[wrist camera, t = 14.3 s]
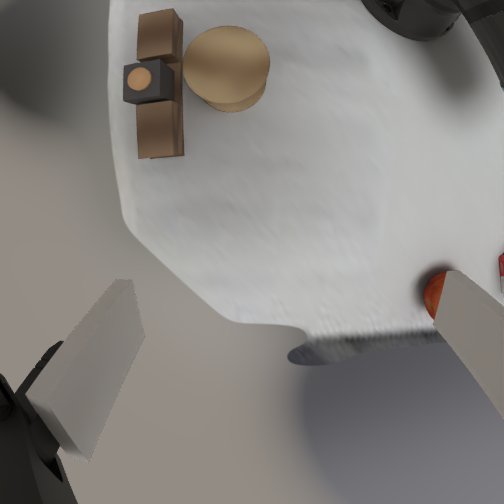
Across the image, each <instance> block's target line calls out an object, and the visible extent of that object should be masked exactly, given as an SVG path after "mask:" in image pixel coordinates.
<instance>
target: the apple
mask: <svg viewBox="0 0 504 504" xmlns="http://www.w3.org/2000/svg"><path fill="white" fill-rule="evenodd" d="M446 273H447V272H444V273H441V274H438V275H437V276H435V277H433V278H432V279H431V280H430V281H429V282H428V284H427V286H426V288H425V291H424V300H425V305H426V308H427V311H428V313H429V315H430V316H431V318H433V319H435V316H436V312H437V309H438V305H439V301H440V297H441V294H442V290H443V285H444V281H445V277H446ZM464 275H465V274H464Z"/></svg>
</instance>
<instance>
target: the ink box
mask: <svg viewBox="0 0 504 504" xmlns="http://www.w3.org/2000/svg"><path fill="white" fill-rule="evenodd" d="M499 264H500V275H501V290H502V293H504V254H503V255H501V256H500V257H499Z"/></svg>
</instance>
